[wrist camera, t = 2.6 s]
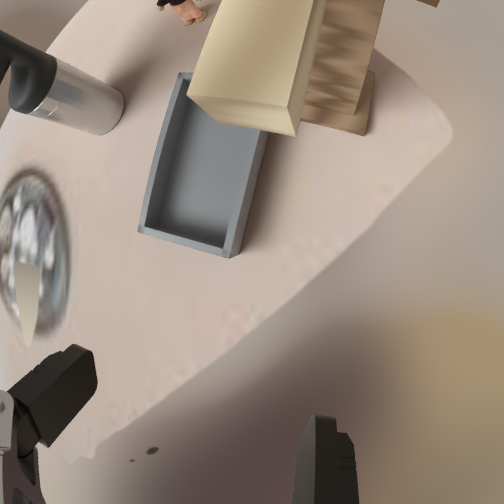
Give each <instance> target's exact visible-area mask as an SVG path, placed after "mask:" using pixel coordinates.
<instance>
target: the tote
mask: <svg viewBox="0 0 504 504" xmlns="http://www.w3.org/2000/svg"><path fill="white" fill-rule="evenodd" d="M192 76H193V73H179V75H178V78H177V81H176V84H175V87H174V90H173V93H172V96H171V99H170V102H169V105H168V108H167V112H166V115H165V118H164V121H163V125H162V128H161V132H160V135H159V139H158V143H157V146H156V150H155V154H154V158H153V162H152V166H151V170H150V174H149V178H148V182H147V187H146V191H145V196H144V201H143V205H142V210H141V215H140V220H139V226H138V231H137V232H139V233H143V234H146V235H149V236H153V237H156V238H160V239H163V240H166V241H170V242H173V243H176V244H180V245H183V246H187V247H190V248H193V249H197V250H200V251H204V252H207V253H211V254H214V255H217V256H221V257H224V258H228V259H229V258H232V257H234V256H237V255H239V253H240V249H241V244H242V240H243V236H244V232H245V228H246V224H247V220H248V216H249V211H250V207H251V203H252V199H253V195H254V191H255V187H256V183H257V179H258V175H259V171H260V167H261V163H262V159H263V155H264V151H265V147H266V143H267V139H268V135H269V131H263V130H257V129H252V128H246V127H239V126H233V125H226V124H219V123H218V122H216V121H215V120H214V119H213V118H212V117H211V116H210V115H209V114H208V113H207V112H205V111H204V110H203V109H202V108H201V107H200V106H199V105H197V104H196V103H195V102H194V101H193V100H192V99H191V98H189V97H188V96H187V91H188V88H189V85H190V82H191V79H192Z"/></svg>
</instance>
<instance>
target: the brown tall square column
mask: <svg viewBox="0 0 504 504" xmlns="http://www.w3.org/2000/svg"><path fill="white" fill-rule="evenodd" d="M418 1H420V2H423V3H426V4H429V5H431V6H434V7H437V5H438V3H439V1H440V0H418ZM384 2H385V0H327V2H326V7H325V12H324V16H323V21H322V25H321V30H320V35H319V39H318V44H317V48H316V52H315V57H314V61H313V66H312V70H311V75H310V79H309V83H308V88H307V92H306V96H305V101H304V105H303V109H302V113H301V118H300V121H304V122H309V123H314V124H318V125H322V126H327V127H331V128H335V129H339V130H343V131H347V132H350V133H354V134H358V135H361V136H364V135H365V132H366V127H367V121H368V115H369V109H370V103H371V97H372V90H373V83H374V76H375V73H374V72H370V71H367V68H368V65H369V61H370V57H371V54H372V50H373V46H374V42H375V39H376V34H377V30H378V27H379V23H380V18H381V14H382V10H383V6H384Z"/></svg>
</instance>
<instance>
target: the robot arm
mask: <svg viewBox="0 0 504 504" xmlns="http://www.w3.org/2000/svg"><path fill="white" fill-rule="evenodd" d="M10 65H11V80H10V87H9V96H8V97H9V104H10V107H11V108H12V109H13V110H14V111H17V112H20V113H24V114H28V115H31V116H35V117H39V118H42V119H46V120H49V121H53V122H56V123H59V124H63V125H66V126H69V127H72V128H76V129H79V130H82V131H85V132H88V133H91V134H94V135H103V134H105V133H107V132H109V131H110V130H111V129H112V128H113V127H114V126H115V125H116V124H117V123H118V121H119V119H120V117H121V115H122V112H123V108H124V98H123V96H122V94H121V93H120V92H119V91H118V90H116V89H114V88H113V87H111V86H109V85H107V84H106V83H104V82H102V81H100V80H98V79H96V78H94V77H93V76H91V75H89V74H87V73H85V72H83V71H81V70H79V69H77V68H75V67H73V66H71V65H70V64H68V63H65V62H63V61H61V60H59V59H57V58H55V57H53V56H51V55H49V54H47V53H44V52H42V51H40V50H38V49H36V48H34V47H32V46H30V45H28V44H26V43H24V42H22V41H20V40H18V39H16V38H14V37H13V36H11V35H9V34H7V33H5V32H3V31H1V30H0V84H1V81H2V80H3V78H4V75H5V73H6V71H7V69H8V68H9V66H10ZM97 384H98V381H97V375H96V369H95V363H94V356H93V353H92V352H91V351H90V350H87V349H85V348H83V347H81V346H79V345H77V344H72V345H71V346H69V347H68V348H67V349H66V350H65V351H64V352H62V351H59V352H57V353H54V354H52V355H49V356H48V357H47V358H45V359H44V360H43V361H42V362H41V363H40V365H39V364H38V365H37V366H36V367H35V368H34V369H33V371H32V370H31V371H30V372H29V373H28V374H27V375H25V376H24V377H23V378H22V379H21V380H20V381H18V382H17V383H16V384H15V385H14V386H13V387H12V388H10V389H9V390H8V391H7V392H5V391H3V390H0V504H46V502H45V500H44V497H43V495H42V492H41V488H40V477H39V465H38V449H37V446H36V444H37V443H38V442H40V443H41V444H43V445H44V446H46V447H47V448H49V447H50V446H51V444H52V443H53V442H54V441H55V440H56V438H57V437H58V436H59V435H60V434H61V432H62V431H63V430H64V429H65V428H66V427H67V425H68V424H69V423H70V422H71V421H72V419H73V418H74V417H75V416H76V415H77V414H78V412H79V411H80V410H81V409H82V408H83V407H84V405H85V404H86V403H87V402H88V401H89V400H90V398H91V397H92V396H93V395H94V393H95V391H96V389H97ZM292 504H359V495H358V483H357V471H356V461H355V452H354V444H353V443H352V441H351V439H350V438H349V436H348V434H347V433H340V432H337V427H336V418H335V417H330V416H322V415H315V414H314V415H312V417H311V419H310V421H309V423H308V425H307V427H306V429H305V431H304V433H303V435H302V437H301V440H300V442H299V445H298V449H297V454H296V467H295V479H294V490H293V501H292Z"/></svg>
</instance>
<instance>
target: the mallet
mask: <svg viewBox="0 0 504 504" xmlns="http://www.w3.org/2000/svg"><path fill="white" fill-rule="evenodd" d="M326 2H327V0H222V2H221V4H220V6H219V9H218V11H217V13H216V16H215V18H214V20H213V23H212V25H211V28H210V30H209V33H208V35H207V38H206V41H205V43H204V46H203V48H202V51H201V54H200V57H199V59H198V62H197V65H196V68H195V71H194V73H193V76H192V79H191V82H190V85H189V88H188V91H187V96H188V97H189V98H191V99H192V100H193V101H194V102H195V103H196V104H197V105H199V106H200V107H201V108H202V109H203V110H204V111H205V112H207V113H208V114H209V115H210V116H211V117H212V118H213V119H214V120H215V121H216V122H218V123H219V124H226V125H233V126H239V127H246V128H252V129H257V130H263V131H269V132H274V133H279V134H284V135H289V136H294V137H296V135H297V130H298V126H299V122H300V118H301V113H302V109H303V105H304V101H305V96H306V92H307V88H308V83H309V79H310V75H311V70H312V66H313V61H314V57H315V52H316V48H317V44H318V39H319V35H320V30H321V25H322V21H323V16H324V12H325V7H326Z"/></svg>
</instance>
